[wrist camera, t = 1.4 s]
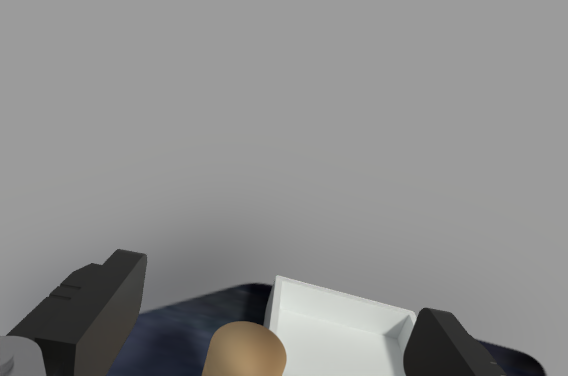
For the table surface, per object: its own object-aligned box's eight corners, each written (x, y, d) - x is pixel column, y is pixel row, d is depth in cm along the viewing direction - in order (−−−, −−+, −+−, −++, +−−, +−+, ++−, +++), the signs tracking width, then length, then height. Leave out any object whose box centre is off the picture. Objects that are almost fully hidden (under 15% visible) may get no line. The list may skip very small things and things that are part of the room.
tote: (249, 416, 31) (263, 375, 30) (266, 307, 45) (276, 275, 43) (438, 463, 32) (462, 425, 30) (398, 341, 46) (413, 311, 44)
